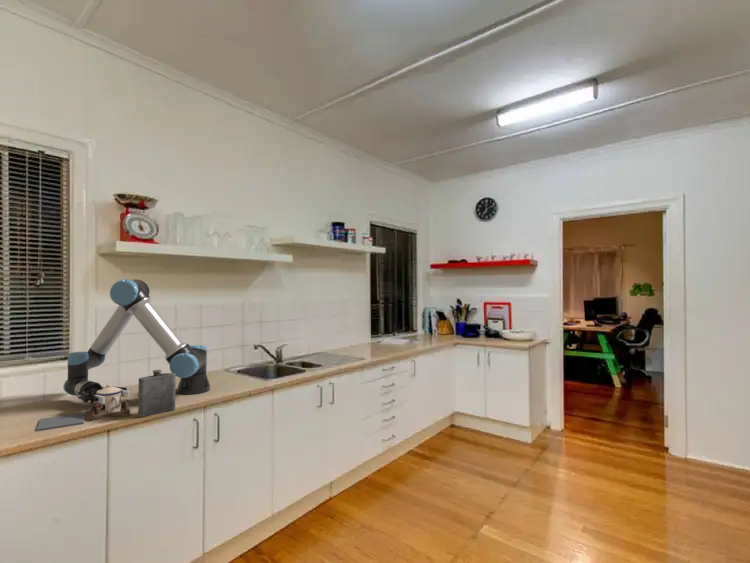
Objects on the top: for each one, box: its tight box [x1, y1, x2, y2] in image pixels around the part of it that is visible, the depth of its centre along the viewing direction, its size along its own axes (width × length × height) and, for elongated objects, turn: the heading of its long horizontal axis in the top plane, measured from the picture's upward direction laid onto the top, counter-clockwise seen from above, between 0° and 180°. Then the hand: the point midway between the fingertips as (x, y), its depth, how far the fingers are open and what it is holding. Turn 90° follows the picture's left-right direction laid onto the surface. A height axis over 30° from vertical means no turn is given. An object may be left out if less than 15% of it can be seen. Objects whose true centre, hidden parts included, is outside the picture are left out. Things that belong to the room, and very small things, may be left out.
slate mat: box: [36, 412, 85, 432], centre depth 157 cm, size 14×14×1 cm
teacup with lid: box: [95, 383, 122, 415], centre depth 169 cm, size 12×9×12 cm
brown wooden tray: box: [91, 400, 131, 422], centre depth 169 cm, size 13×16×2 cm
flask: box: [137, 369, 177, 419], centre depth 169 cm, size 4×14×18 cm, turn 139°
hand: (116, 397), depth 167 cm, fingers closed on teacup with lid, 9 cm apart
